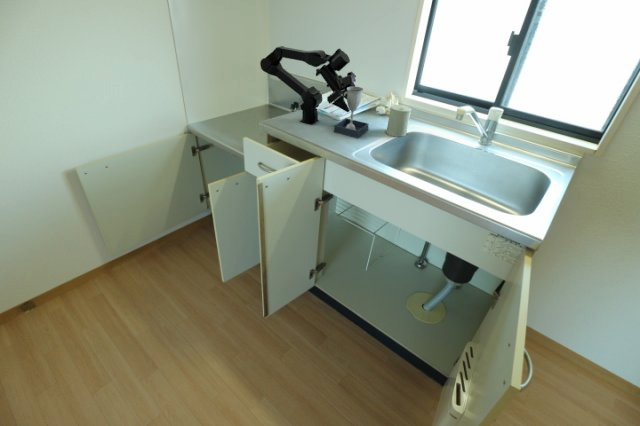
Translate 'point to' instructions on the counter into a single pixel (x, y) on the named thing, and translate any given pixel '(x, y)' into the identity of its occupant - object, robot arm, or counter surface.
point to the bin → (359, 127)
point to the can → (398, 120)
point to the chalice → (353, 102)
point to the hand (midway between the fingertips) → (352, 108)
